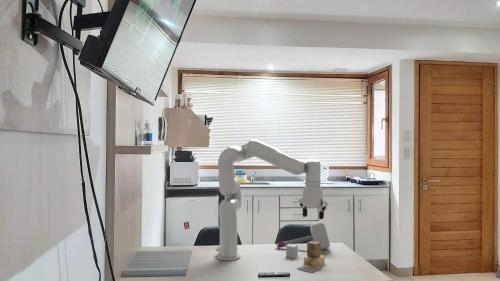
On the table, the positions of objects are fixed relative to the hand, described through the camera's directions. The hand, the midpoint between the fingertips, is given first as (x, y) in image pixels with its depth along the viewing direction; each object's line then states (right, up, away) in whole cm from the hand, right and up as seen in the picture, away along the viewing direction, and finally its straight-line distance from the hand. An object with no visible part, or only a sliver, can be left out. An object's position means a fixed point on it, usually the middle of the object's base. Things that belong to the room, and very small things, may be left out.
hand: (313, 217), depth 186 cm
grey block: (-9, -24, +12) cm, 28 cm away
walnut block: (0, -20, -1) cm, 20 cm away
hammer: (-1, -24, +27) cm, 37 cm away
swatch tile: (-3, -23, -9) cm, 25 cm away
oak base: (0, -24, -1) cm, 24 cm away
